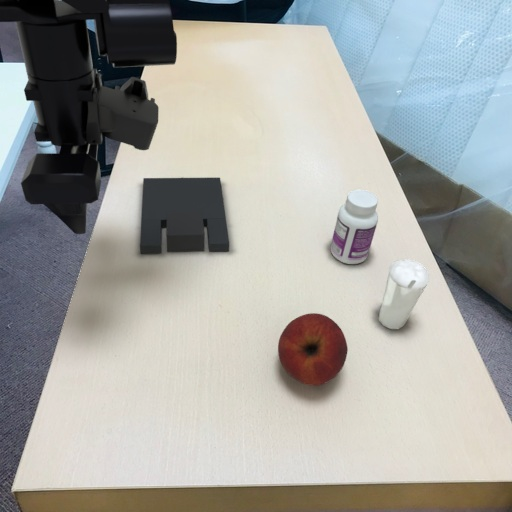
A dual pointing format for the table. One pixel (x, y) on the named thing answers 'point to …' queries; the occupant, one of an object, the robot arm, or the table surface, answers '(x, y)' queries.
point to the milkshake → (402, 292)
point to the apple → (312, 349)
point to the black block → (185, 231)
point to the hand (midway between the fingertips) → (85, 206)
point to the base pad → (182, 209)
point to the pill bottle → (355, 227)
